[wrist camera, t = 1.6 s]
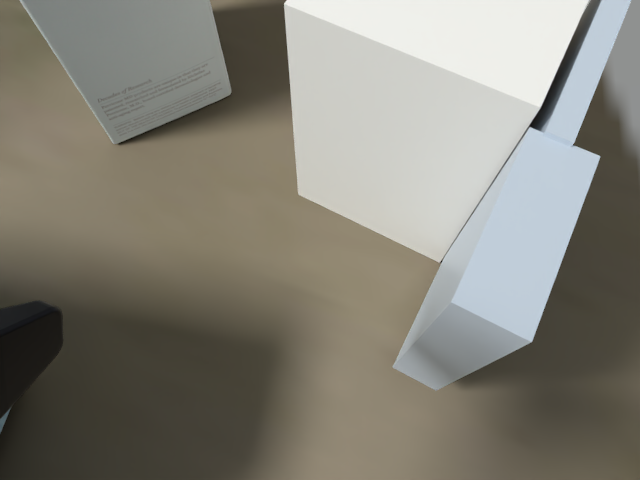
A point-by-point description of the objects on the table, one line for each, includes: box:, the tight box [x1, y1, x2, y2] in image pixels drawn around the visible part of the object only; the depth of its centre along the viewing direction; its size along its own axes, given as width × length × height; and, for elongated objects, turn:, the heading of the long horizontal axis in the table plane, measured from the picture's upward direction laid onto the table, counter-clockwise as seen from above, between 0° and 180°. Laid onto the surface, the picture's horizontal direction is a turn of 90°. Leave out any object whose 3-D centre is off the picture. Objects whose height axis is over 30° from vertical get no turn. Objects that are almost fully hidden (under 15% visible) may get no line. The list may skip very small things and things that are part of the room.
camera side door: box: [393, 0, 631, 390], centre depth 19 cm, size 14×2×11 cm, turn 152°
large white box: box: [284, 0, 589, 263], centre depth 21 cm, size 9×8×13 cm
